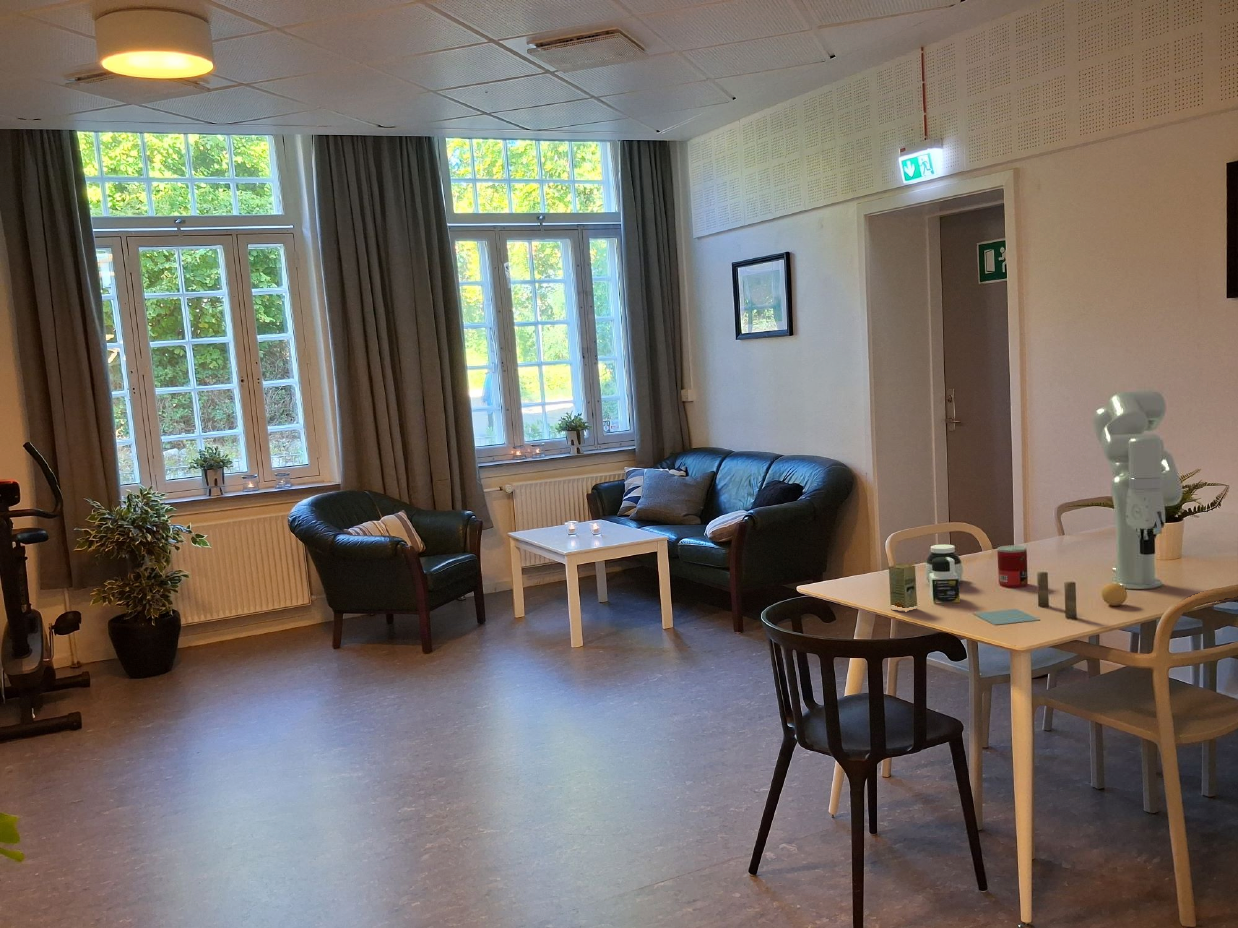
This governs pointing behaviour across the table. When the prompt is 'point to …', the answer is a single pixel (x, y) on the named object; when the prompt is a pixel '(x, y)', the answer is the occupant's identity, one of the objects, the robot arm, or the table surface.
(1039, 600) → the post
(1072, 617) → the post
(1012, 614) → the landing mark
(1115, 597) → the ball
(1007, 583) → the canned food
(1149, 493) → the robot arm
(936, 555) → the spread jar
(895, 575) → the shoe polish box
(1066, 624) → the table surface
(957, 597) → the medicine bottle
